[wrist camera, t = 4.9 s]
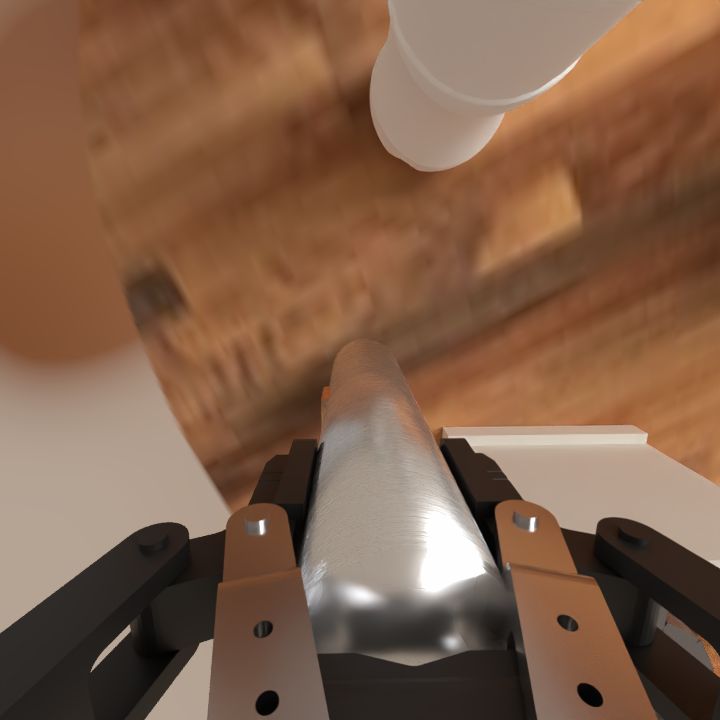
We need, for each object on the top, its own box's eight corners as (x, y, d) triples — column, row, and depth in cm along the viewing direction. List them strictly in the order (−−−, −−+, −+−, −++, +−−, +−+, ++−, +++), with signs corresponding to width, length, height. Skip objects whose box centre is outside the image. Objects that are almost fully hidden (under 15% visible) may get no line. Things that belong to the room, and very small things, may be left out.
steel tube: (398, 338, 23) (538, 548, 6) (396, 401, 24) (514, 742, 7) (330, 338, 23) (269, 553, 6) (331, 401, 24) (282, 749, 7)
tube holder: (632, 425, 28) (845, 542, 16) (601, 605, 32) (755, 811, 20) (442, 427, 28) (515, 549, 16) (432, 610, 32) (485, 822, 20)
